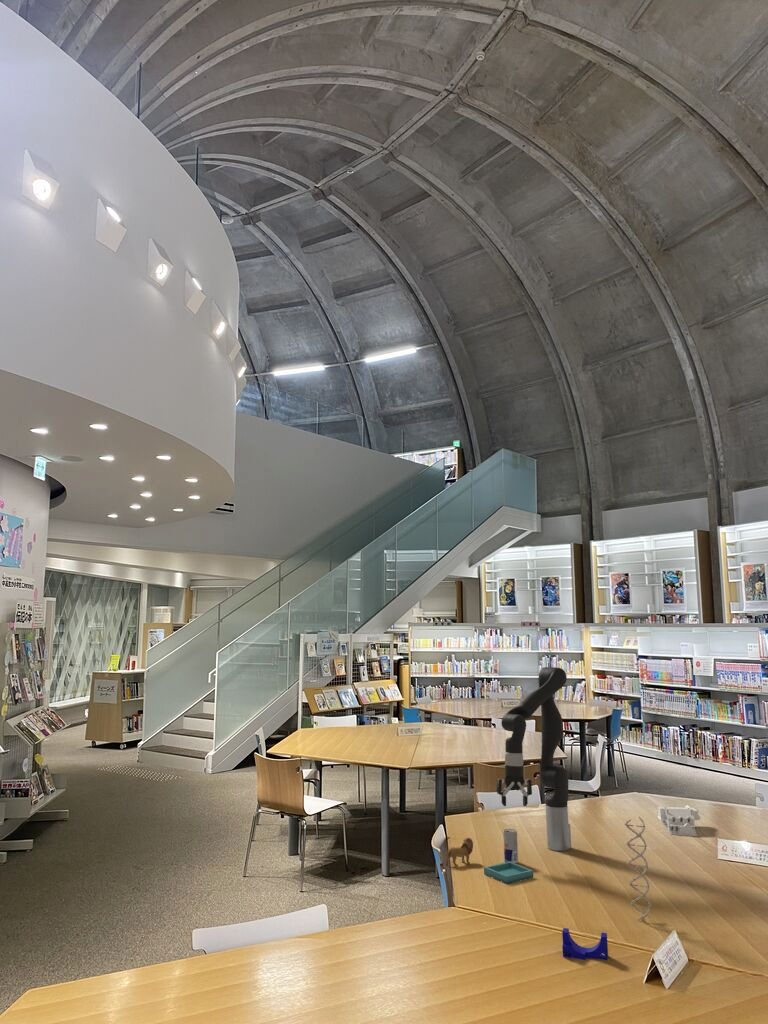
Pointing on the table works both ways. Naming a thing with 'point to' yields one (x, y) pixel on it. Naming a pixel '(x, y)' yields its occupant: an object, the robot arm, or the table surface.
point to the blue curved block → (580, 952)
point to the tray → (508, 872)
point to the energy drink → (510, 846)
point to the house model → (678, 820)
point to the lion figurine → (460, 851)
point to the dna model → (637, 870)
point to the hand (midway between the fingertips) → (514, 805)
